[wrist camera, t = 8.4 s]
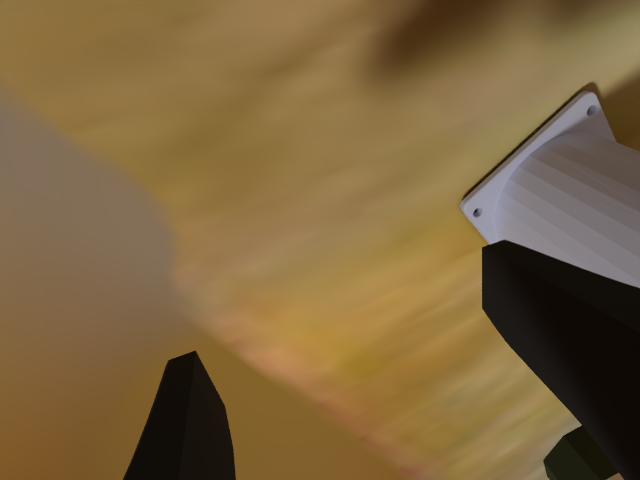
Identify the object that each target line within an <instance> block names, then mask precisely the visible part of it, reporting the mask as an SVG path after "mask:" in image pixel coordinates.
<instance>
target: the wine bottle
mask: <svg viewBox="0 0 640 480" xmlns="http://www.w3.org/2000/svg"><path fill="white" fill-rule="evenodd" d="M544 465H545V469H546V473H547V476H548V478H549V479H550V480H624V479H623V478H622V476H621V475H620V473H619V472H618V471H617V469H616V468H615V467H614V465H613V464H612V463H611V461H610V460H609V459H608V458H607V456H606V455H605V454H604V452H603V451H602V450H601V448H600V447H599V446H598V445H597V443H596V442H595V441H594V439H593V438H592V437H591V435H590V434H589V433H588V432H587V430H586V429H585V428H584V427H583V426H581V427H579V428H577V429H576V430H574V431H572V432H570V433H568V434H567V435H565V436H563V437H562V439H561V440H560V441H559V442H558V443H557V445H556V446H555V447H554V448H553V450H552V451H551V452H550V453H549V454H548V456H547V457H546V458H545V459H544Z"/></svg>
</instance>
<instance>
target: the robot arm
mask: <svg viewBox="0 0 640 480" xmlns="http://www.w3.org/2000/svg"><path fill="white" fill-rule="evenodd" d="M589 107H590V109H589V111H588V112H587V110H588V108H589ZM477 208H478V210H477V211H476V213H474V211H475V210H476V209H477ZM461 210H462V212H463V213H464V214H465V215H466V217H467V218H468V219H469V220H470V222H471V223H472V224H473V225H474V226H475V228H476V229H477V230H478V231H479V233H480V234H481V235H482V236H483V237H484V239H485V240H486V241H487V242H488V243H489V245H487V246H485V247H482V309H483V310H484V312H485V313H486V314H487V316H488V317H489V319H490V320H491V322H492V323H493V325H494V326H495V328H496V329H497V330H498V332H499V333H500V334H501V336H502V337H503V338H504V340H505V341H506V342H507V343H508V345H509V346H510V347H511V348H512V349H513V350H514V351H515V352H516V353H517V354H518V356H519V357H520V358H521V359H522V360H523V361H524V362H525V363H526V364H527V365H528V367H529V368H530V369H531V370H532V371H533V372H534V373H535V374H536V375H537V376H538V377H539V378H540V379H541V380H542V382H543V383H544V384H545V385H546V386H547V387H548V388H549V389H550V390H551V391H552V392H553V393H554V394H555V396H556V397H557V398H558V399H559V400H560V401H561V402H562V403H563V404H564V405H565V406H566V407H567V408H568V410H569V411H570V412H571V413H572V414H573V415H574V416H575V417H576V419H577V420H578V421H579V422H580V423H581V424H582V426H583V427H584V428H585V429H586V430H587V432H588V433H589V434H590V435H591V437H592V438H593V439H594V441H595V442H596V443H597V445H598V446H599V447H600V448H601V450H602V451H603V452H604V454H605V455H606V456H607V458H608V459H609V460H610V461H611V463H612V464H613V465H614V467H615V468H616V469H617V471H618V472H619V473H620V475H621V476H622V478H623V479H624V480H640V151H637V150H635V149H632V148H630V147H627V146H624V145H622V144H619V143H617V142H616V140H615V137H614V135H613V133H612V130H611V128H610V126H609V123H608V121H607V119H606V117H605V114H604V112H603V110H602V107H601V105H600V103H599V100H598V98H597V96H596V94H595V93H593V92H590V91H583V92H581V93H580V94H578V95H577V96H576V97H575V98H574V99H573V100H572V101H571V102H570V103H569V104H567V105H566V106H565V107H564V108H563V109H562V110H561V111H560V112H559V113H558V114H556V115H555V116H554V117H553V118H552V119H551V120H550V121H549V122H548V123H547V124H545V125H544V126H543V127H542V128H541V129H540V130H539V131H538V132H537V133H536V134H535V135H533V136H532V137H531V138H530V139H529V140H528V141H527V142H526V143H525V144H524V145H522V146H521V147H520V148H519V149H518V150H517V151H516V152H515V153H514V154H513V155H511V156H510V157H509V158H508V159H507V160H506V161H505V162H504V163H503V164H502V165H500V166H499V167H498V168H497V169H496V170H495V171H494V172H493V173H492V174H491V175H489V176H488V177H487V178H486V179H485V180H484V181H483V182H482V183H481V184H480V185H478V186H477V187H476V188H475V189H474V190H473V191H472V192H471V193H470V194H469V195H467V196H466V197H465V198H464V199H463V201H462V203H461ZM473 213H474V214H473ZM123 480H236V477H235V465H234V453H233V445H232V440H231V434H230V429H229V425H228V419H227V414H226V409H225V406H224V404H223V402H222V400H221V398H220V396H219V394H218V392H217V391H216V389H215V386H214V385H213V383H212V381H211V379H210V377H209V375H208V373H207V371H206V370H205V368H204V366H203V364H202V362H201V360H200V358H199V357H198V354H197V353H196V351H193V352H190V353H187V354H185V355H182V356H179V357H176V358H174V359H171V360H169V361H168V363H167V365H166V367H165V370H164V373H163V376H162V379H161V382H160V385H159V389H158V391H157V394H156V397H155V400H154V403H153V406H152V408H151V411H150V414H149V417H148V419H147V422H146V425H145V427H144V430H143V432H142V435H141V437H140V440H139V443H138V445H137V448H136V450H135V453H134V455H133V458H132V460H131V463H130V465H129V467H128V469H127V472H126V474H125V476H124V478H123Z"/></svg>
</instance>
